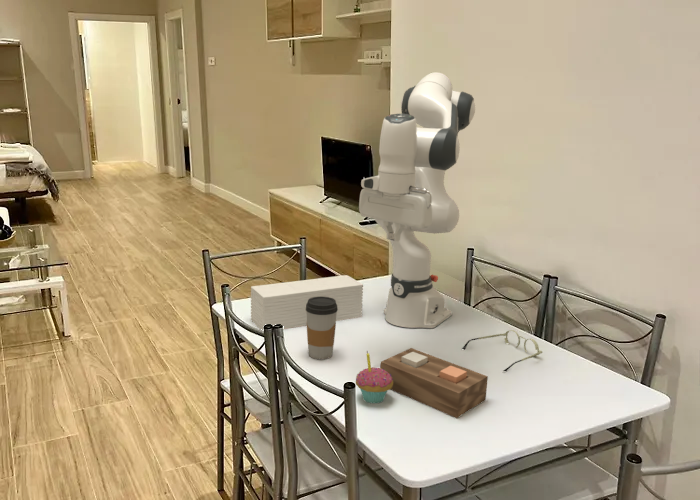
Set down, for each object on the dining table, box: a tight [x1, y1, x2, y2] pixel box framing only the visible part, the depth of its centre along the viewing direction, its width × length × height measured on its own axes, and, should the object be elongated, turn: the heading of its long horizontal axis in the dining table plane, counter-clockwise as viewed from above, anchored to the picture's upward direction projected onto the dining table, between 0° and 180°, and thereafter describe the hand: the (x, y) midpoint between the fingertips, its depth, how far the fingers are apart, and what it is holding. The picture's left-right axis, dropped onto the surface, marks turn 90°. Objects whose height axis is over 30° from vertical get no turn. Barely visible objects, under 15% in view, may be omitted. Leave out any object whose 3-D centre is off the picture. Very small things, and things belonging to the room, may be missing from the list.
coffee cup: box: [306, 297, 338, 360], centre depth 169 cm, size 8×8×15 cm
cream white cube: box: [401, 352, 428, 368], centre depth 155 cm, size 4×4×4 cm
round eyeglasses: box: [461, 329, 543, 372], centre depth 175 cm, size 17×15×5 cm
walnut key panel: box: [379, 347, 489, 419], centre depth 152 cm, size 12×22×6 cm, turn 47°
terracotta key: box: [439, 366, 467, 384], centre depth 148 cm, size 4×4×4 cm
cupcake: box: [355, 350, 393, 404], centre depth 147 cm, size 9×8×12 cm
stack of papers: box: [250, 274, 364, 331], centre depth 196 cm, size 32×11×11 cm, turn 118°
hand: (393, 240), depth 158 cm, fingers closed
